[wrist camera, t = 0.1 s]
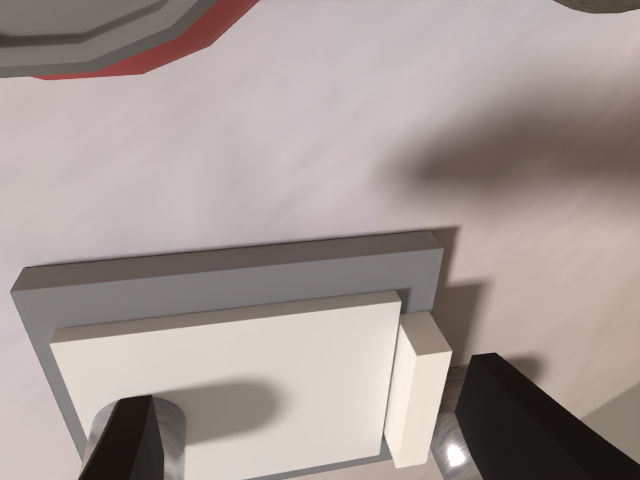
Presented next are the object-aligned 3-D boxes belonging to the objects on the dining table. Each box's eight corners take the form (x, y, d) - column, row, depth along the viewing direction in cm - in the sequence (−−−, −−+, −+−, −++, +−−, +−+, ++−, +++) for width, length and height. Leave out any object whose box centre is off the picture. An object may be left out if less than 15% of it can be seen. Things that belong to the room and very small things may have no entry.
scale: (395, 435, 29) (420, 499, 26) (108, 485, 26) (93, 566, 23) (430, 230, 21) (472, 284, 18) (23, 268, 18) (-19, 342, 15)
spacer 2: (465, 407, 29) (508, 483, 25) (405, 417, 29) (439, 498, 24) (478, 362, 27) (527, 438, 23) (413, 372, 26) (452, 452, 22)
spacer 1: (191, 445, 22) (188, 560, 18) (103, 460, 22) (78, 583, 17) (180, 389, 20) (173, 504, 16) (81, 403, 19) (46, 527, 15)
